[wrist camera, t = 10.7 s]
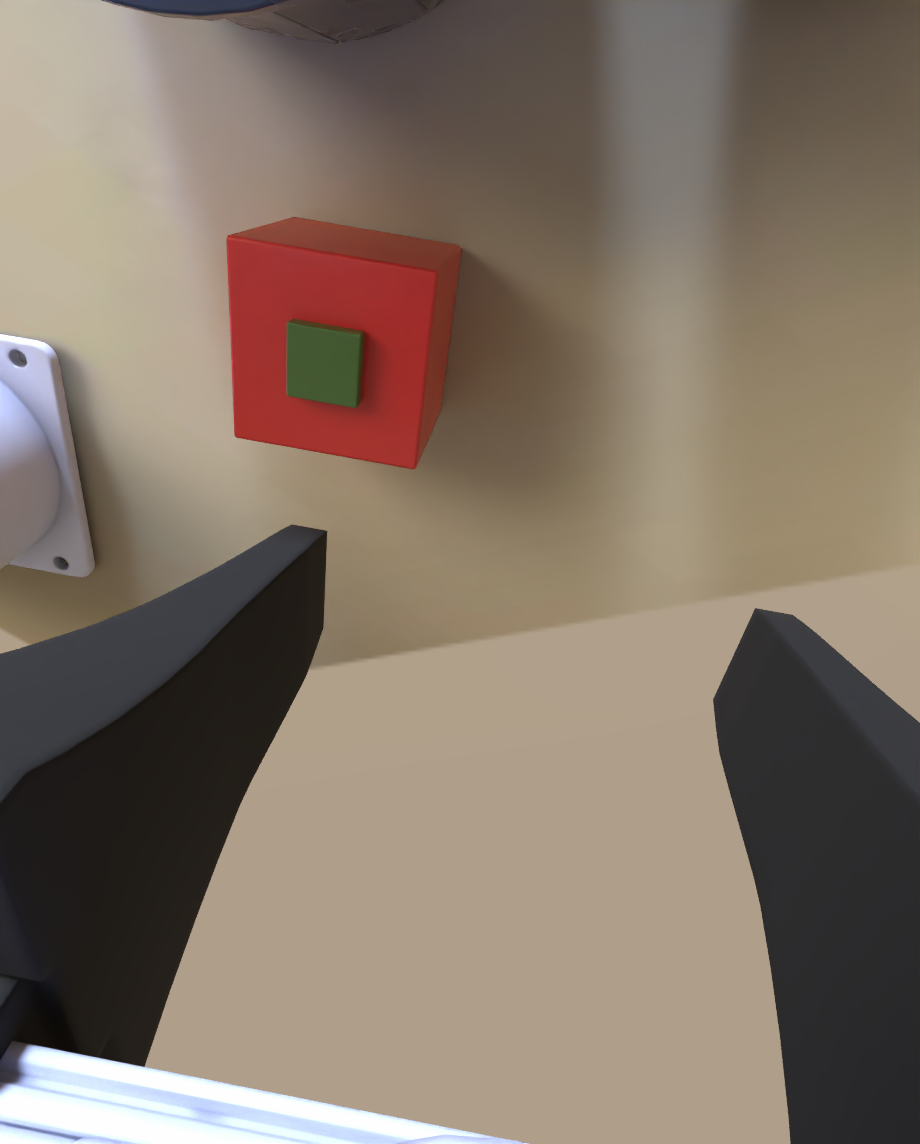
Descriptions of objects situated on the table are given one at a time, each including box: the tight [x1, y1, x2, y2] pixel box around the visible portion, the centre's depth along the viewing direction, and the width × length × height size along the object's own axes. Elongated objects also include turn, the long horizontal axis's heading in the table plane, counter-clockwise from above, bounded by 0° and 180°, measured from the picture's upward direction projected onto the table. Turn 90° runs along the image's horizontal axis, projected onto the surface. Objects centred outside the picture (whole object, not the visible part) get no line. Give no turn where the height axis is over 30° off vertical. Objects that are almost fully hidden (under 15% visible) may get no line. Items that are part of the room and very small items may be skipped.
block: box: [227, 217, 461, 469], centre depth 17 cm, size 4×4×5 cm
